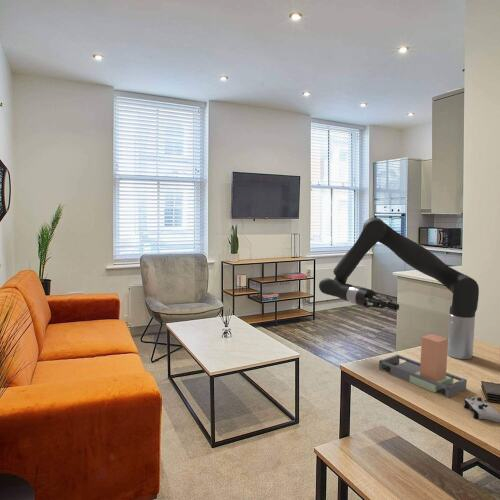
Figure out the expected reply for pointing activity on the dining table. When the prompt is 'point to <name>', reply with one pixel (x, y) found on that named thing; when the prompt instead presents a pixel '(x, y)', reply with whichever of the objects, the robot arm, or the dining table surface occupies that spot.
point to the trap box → (412, 374)
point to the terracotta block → (433, 357)
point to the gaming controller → (482, 409)
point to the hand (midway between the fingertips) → (398, 307)
